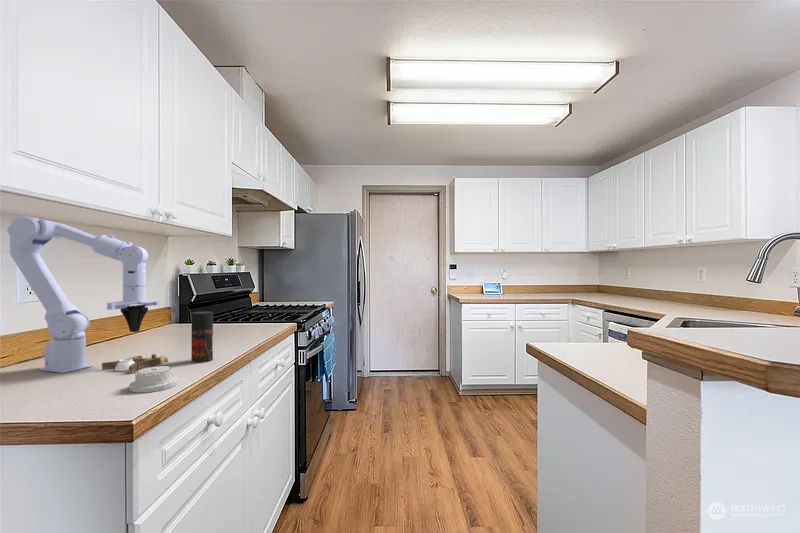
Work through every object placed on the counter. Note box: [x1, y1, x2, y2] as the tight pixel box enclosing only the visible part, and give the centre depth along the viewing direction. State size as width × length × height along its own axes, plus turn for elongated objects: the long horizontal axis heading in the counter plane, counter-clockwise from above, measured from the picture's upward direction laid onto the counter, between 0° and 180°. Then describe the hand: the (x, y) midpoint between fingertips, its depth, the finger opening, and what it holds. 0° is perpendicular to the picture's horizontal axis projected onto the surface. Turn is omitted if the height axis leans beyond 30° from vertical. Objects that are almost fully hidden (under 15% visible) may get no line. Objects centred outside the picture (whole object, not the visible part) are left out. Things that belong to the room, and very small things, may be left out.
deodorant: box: [191, 310, 214, 364], centre depth 120 cm, size 6×6×15 cm
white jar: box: [114, 357, 135, 372], centre depth 110 cm, size 5×3×5 cm
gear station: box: [101, 353, 169, 375], centre depth 114 cm, size 12×15×2 cm
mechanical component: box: [128, 365, 178, 393], centre depth 94 cm, size 10×4×10 cm
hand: (134, 331), depth 115 cm, fingers closed
